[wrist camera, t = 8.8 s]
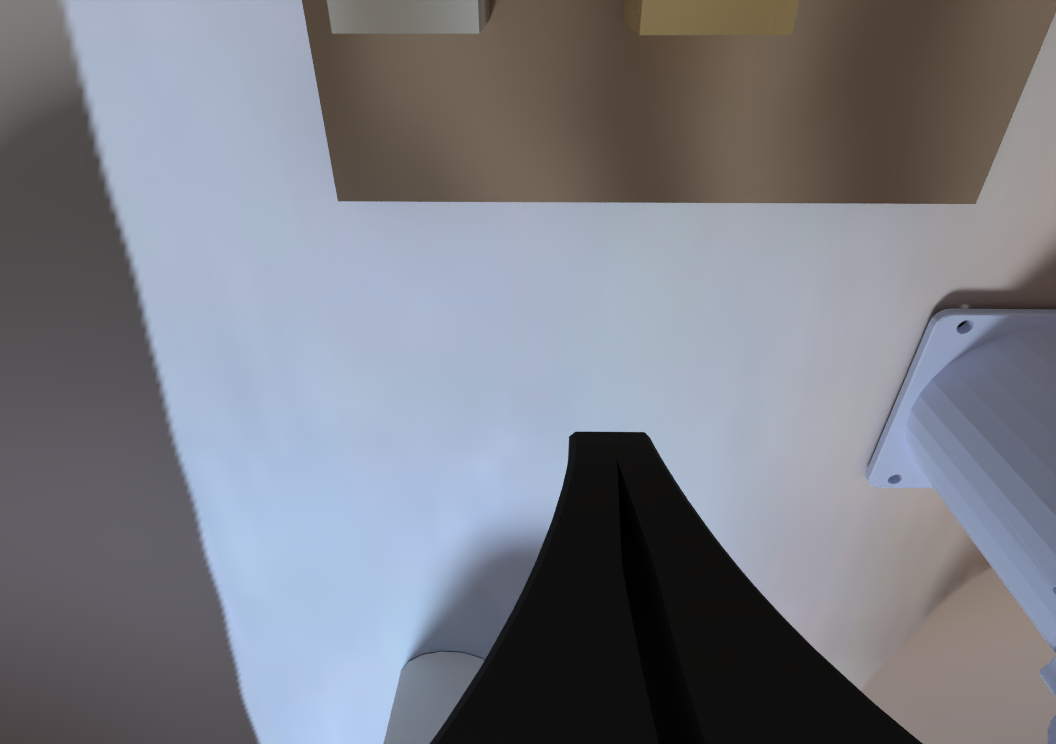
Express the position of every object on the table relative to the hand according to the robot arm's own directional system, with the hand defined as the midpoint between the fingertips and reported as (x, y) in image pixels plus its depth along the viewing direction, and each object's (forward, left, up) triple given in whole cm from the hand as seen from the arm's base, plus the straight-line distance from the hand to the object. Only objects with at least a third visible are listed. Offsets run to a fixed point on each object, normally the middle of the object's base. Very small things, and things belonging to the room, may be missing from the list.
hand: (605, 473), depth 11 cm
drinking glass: (+6, +26, -11) cm, 29 cm away
